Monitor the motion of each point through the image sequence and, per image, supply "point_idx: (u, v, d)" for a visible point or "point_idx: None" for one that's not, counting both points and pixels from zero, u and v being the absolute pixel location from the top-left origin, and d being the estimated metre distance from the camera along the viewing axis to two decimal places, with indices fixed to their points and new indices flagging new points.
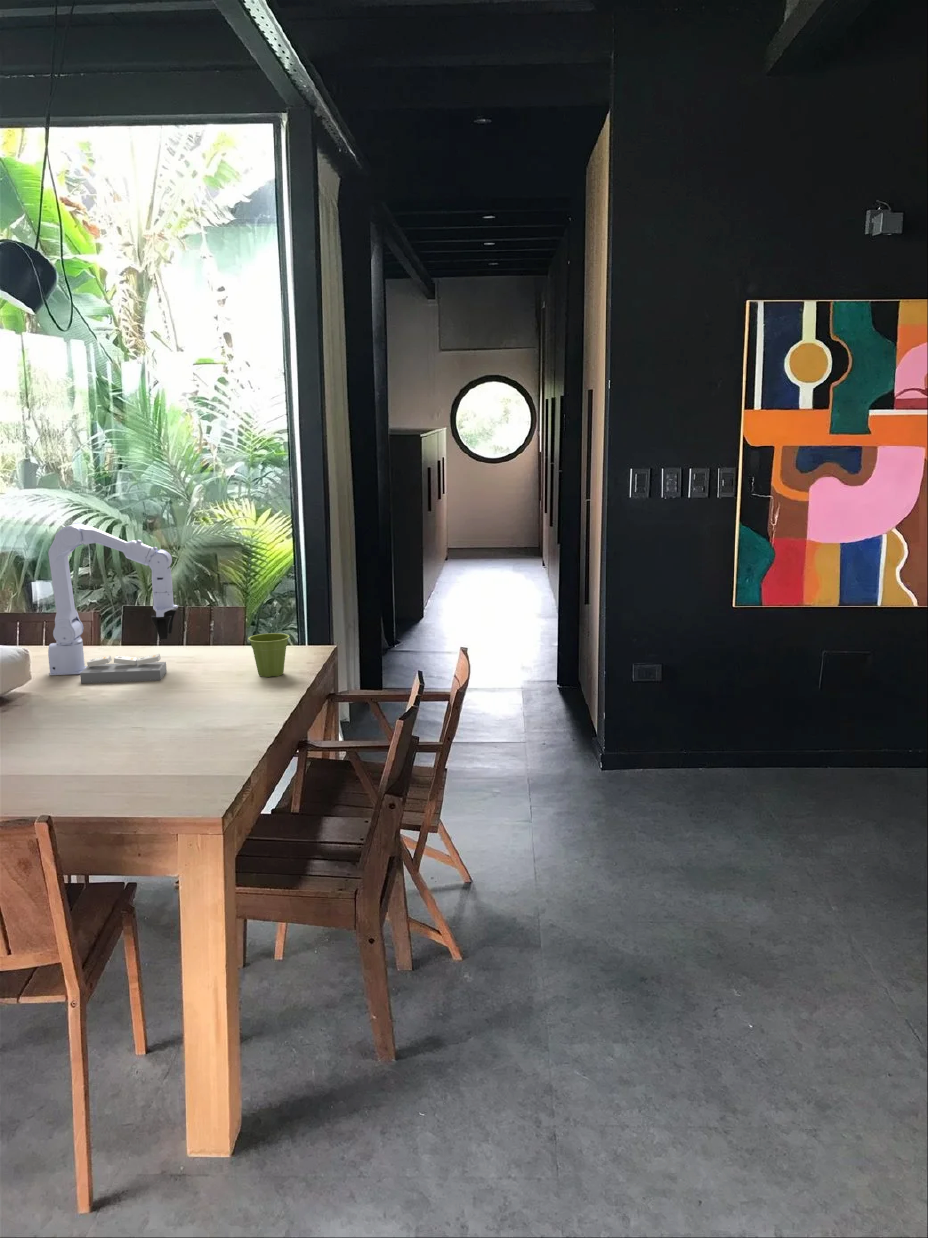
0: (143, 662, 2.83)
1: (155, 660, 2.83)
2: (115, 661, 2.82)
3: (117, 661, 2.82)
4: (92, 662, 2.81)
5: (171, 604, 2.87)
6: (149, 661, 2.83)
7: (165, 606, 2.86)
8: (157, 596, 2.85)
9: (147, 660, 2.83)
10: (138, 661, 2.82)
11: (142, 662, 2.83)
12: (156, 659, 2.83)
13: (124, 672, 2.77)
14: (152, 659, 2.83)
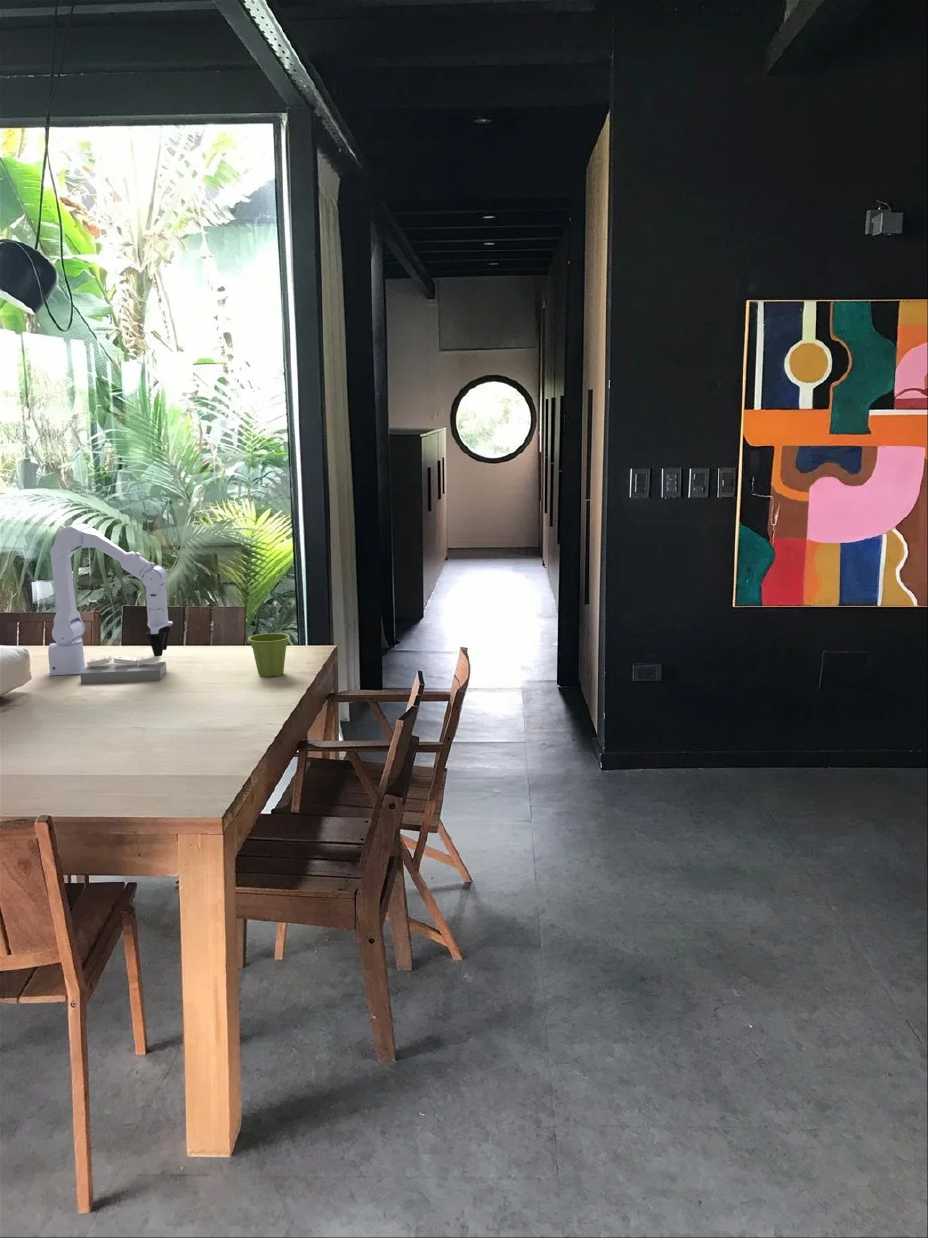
0: (143, 662, 2.83)
1: (155, 660, 2.83)
2: (115, 661, 2.82)
3: (117, 661, 2.82)
4: (92, 662, 2.81)
5: (166, 621, 2.85)
6: (149, 661, 2.83)
7: (160, 623, 2.84)
8: (151, 613, 2.83)
9: (147, 660, 2.83)
10: (138, 661, 2.82)
11: (142, 662, 2.83)
12: (156, 659, 2.83)
13: (124, 672, 2.77)
14: (152, 659, 2.83)
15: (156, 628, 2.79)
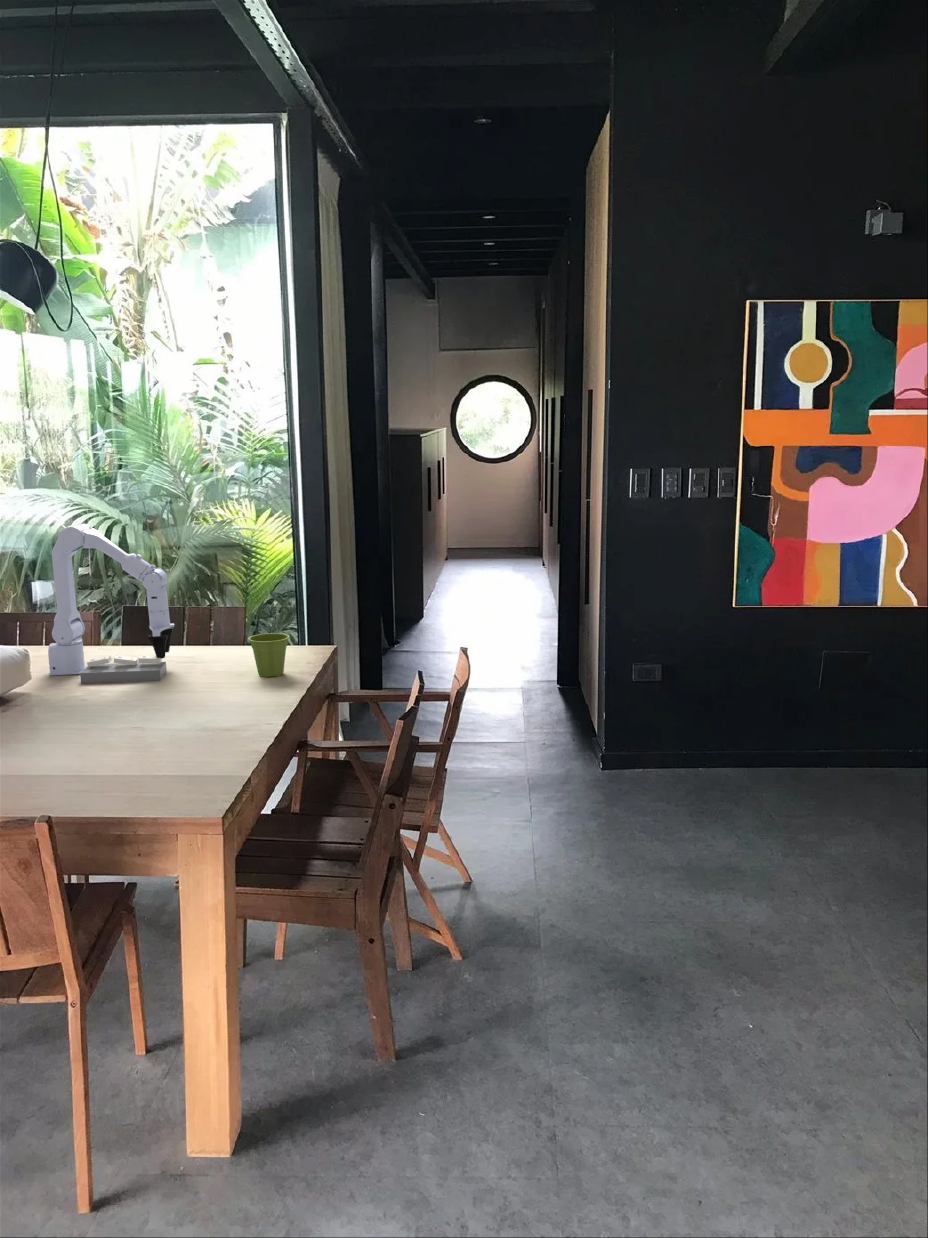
0: (144, 661, 2.83)
1: (156, 662, 2.83)
2: (115, 661, 2.82)
3: (117, 661, 2.82)
4: (92, 662, 2.81)
5: (167, 623, 2.85)
6: (150, 661, 2.83)
7: (161, 625, 2.84)
8: (153, 615, 2.83)
9: (148, 660, 2.83)
10: (139, 659, 2.82)
11: (143, 661, 2.83)
12: (157, 661, 2.83)
13: (124, 672, 2.77)
14: (154, 660, 2.83)
15: (158, 630, 2.79)
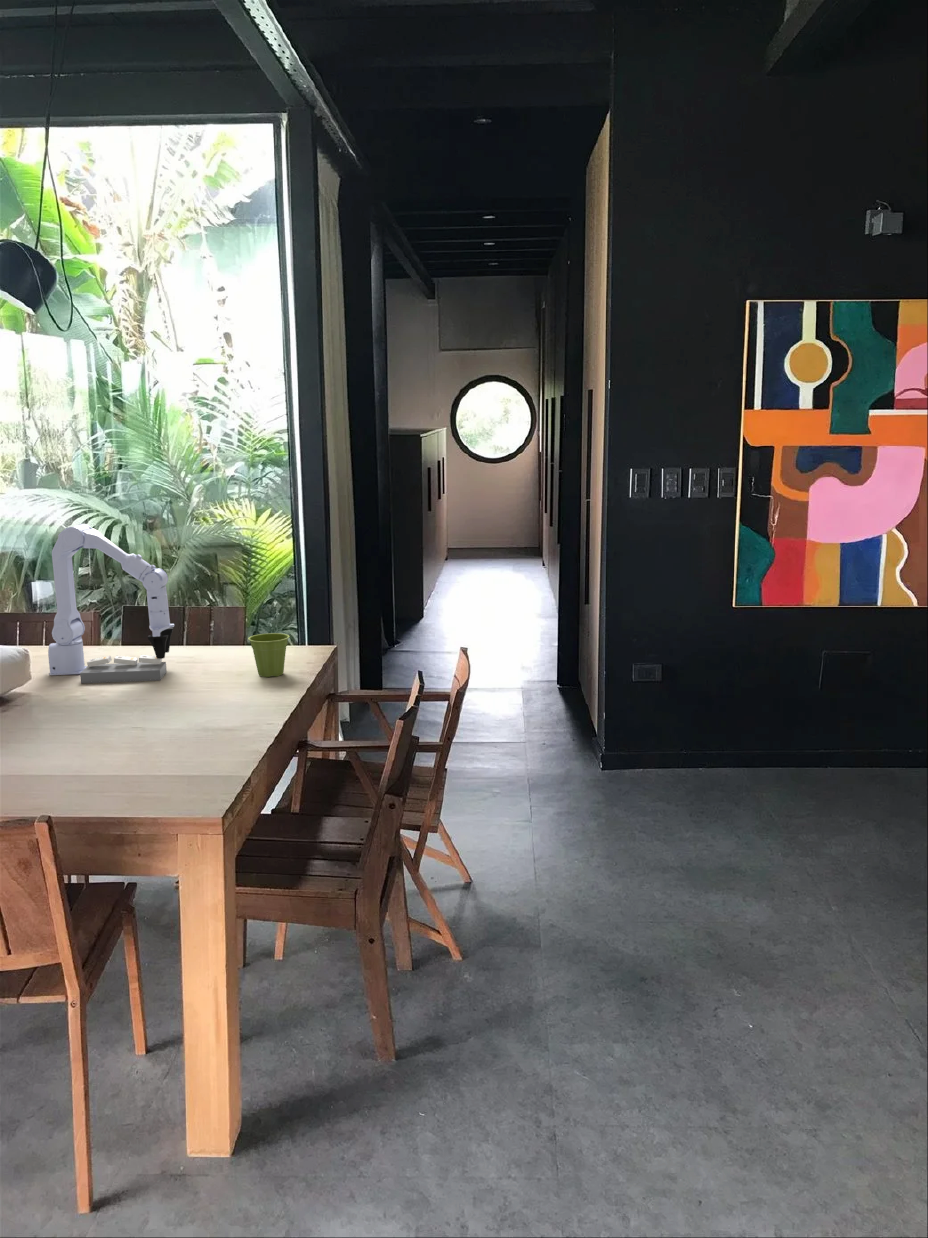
0: (144, 661, 2.83)
1: (156, 662, 2.83)
2: (115, 661, 2.82)
3: (117, 661, 2.82)
4: (92, 662, 2.81)
5: (167, 623, 2.85)
6: (150, 661, 2.83)
7: (161, 625, 2.84)
8: (153, 615, 2.83)
9: (149, 660, 2.83)
10: (140, 658, 2.82)
11: (143, 660, 2.83)
12: (158, 661, 2.83)
13: (124, 672, 2.77)
14: (154, 660, 2.83)
15: (158, 631, 2.79)
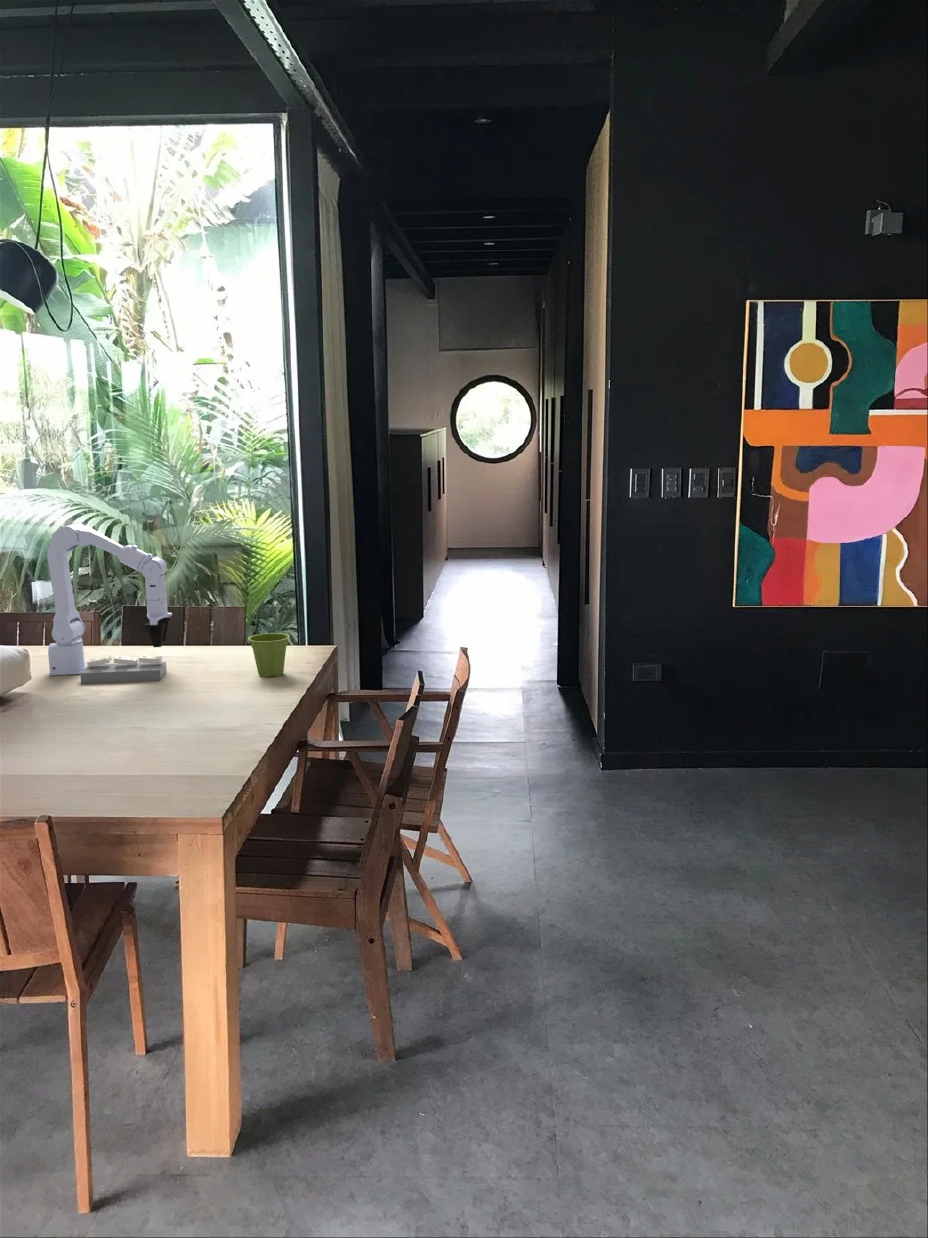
0: (144, 661, 2.83)
1: (156, 662, 2.83)
2: (115, 661, 2.82)
3: (117, 661, 2.82)
4: (92, 662, 2.81)
5: (165, 612, 2.84)
6: (150, 661, 2.83)
7: (159, 614, 2.83)
8: (151, 604, 2.82)
9: (149, 660, 2.83)
10: (140, 659, 2.82)
11: (143, 660, 2.83)
12: (158, 661, 2.83)
13: (124, 672, 2.77)
14: (154, 660, 2.83)
15: (155, 619, 2.79)
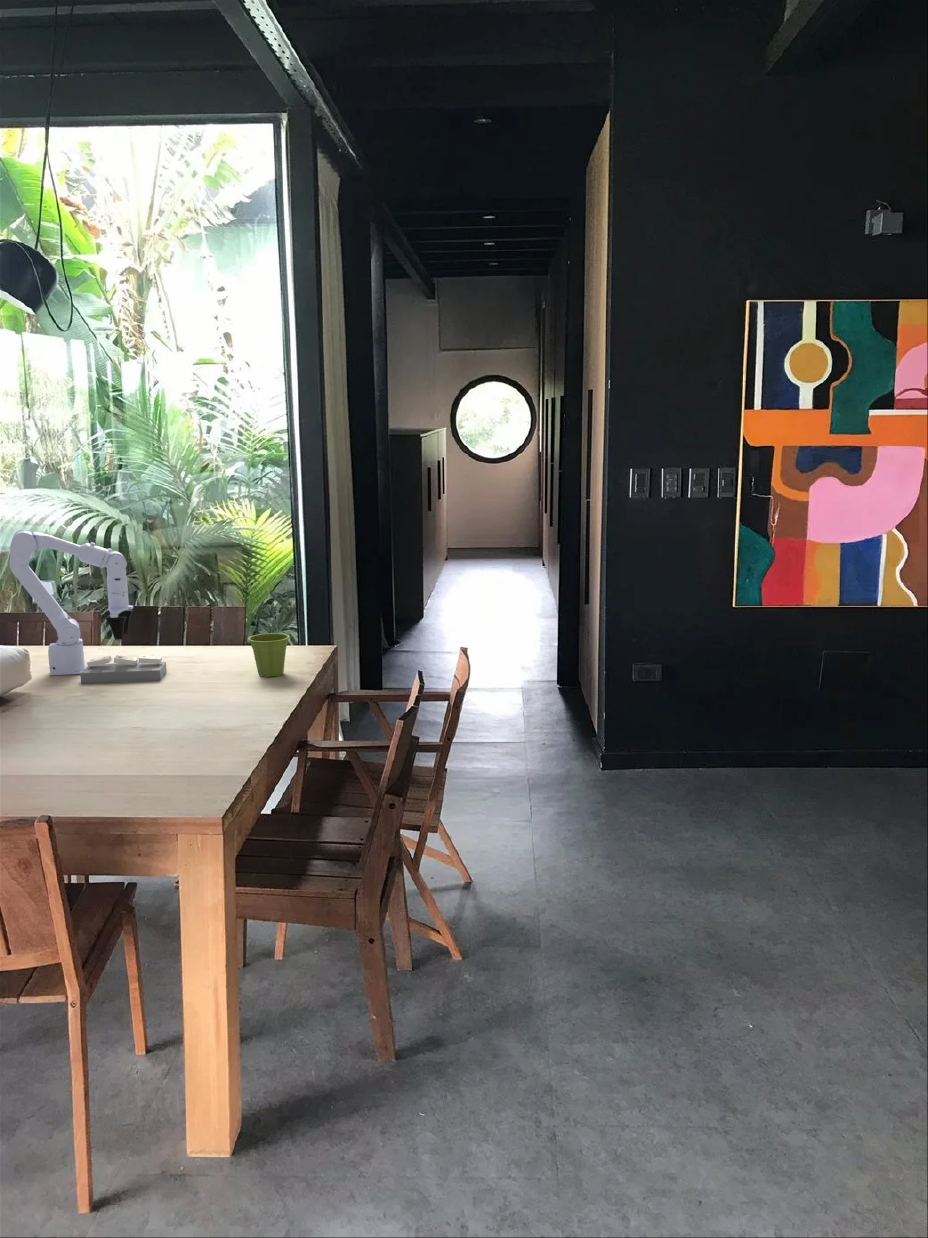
0: (144, 661, 2.83)
1: (156, 662, 2.83)
2: (115, 661, 2.82)
3: (117, 661, 2.82)
4: (92, 662, 2.81)
5: (126, 605, 2.90)
6: (150, 661, 2.83)
7: (120, 607, 2.89)
8: (112, 597, 2.88)
9: (149, 660, 2.83)
10: (140, 659, 2.82)
11: (143, 661, 2.83)
12: (158, 661, 2.83)
13: (124, 672, 2.77)
14: (154, 660, 2.83)
15: (116, 612, 2.84)
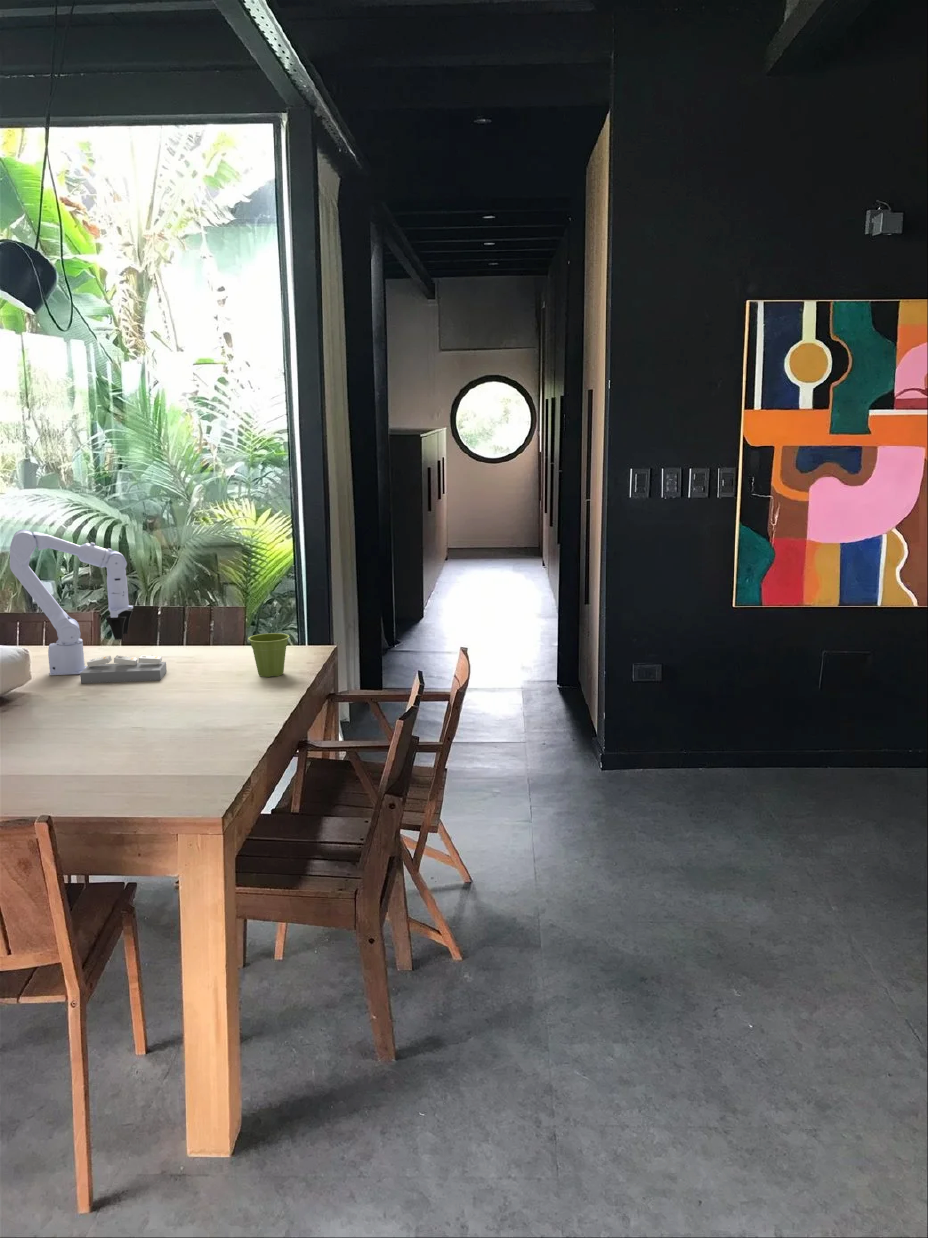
0: (144, 661, 2.83)
1: (156, 662, 2.83)
2: (115, 661, 2.82)
3: (117, 661, 2.82)
4: (92, 662, 2.81)
5: (126, 605, 2.90)
6: (150, 661, 2.83)
7: (120, 607, 2.89)
8: (112, 597, 2.88)
9: (149, 660, 2.83)
10: (139, 659, 2.82)
11: (143, 661, 2.83)
12: (158, 661, 2.83)
13: (124, 672, 2.77)
14: (154, 660, 2.83)
15: (116, 612, 2.84)
